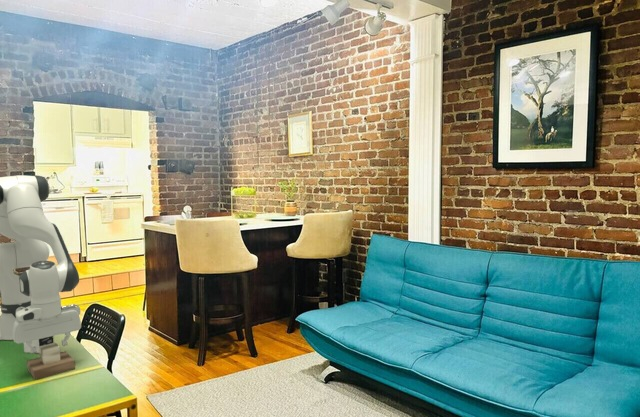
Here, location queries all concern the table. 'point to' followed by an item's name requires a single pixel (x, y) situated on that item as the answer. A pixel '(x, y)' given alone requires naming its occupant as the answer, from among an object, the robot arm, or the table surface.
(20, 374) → the table surface
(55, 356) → the ash cube
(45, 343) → the medicine bottle
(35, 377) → the walnut base
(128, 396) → the table surface
